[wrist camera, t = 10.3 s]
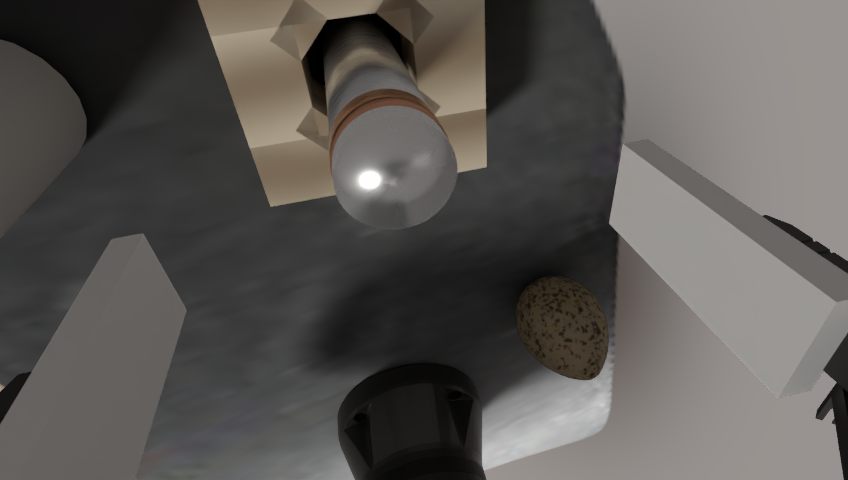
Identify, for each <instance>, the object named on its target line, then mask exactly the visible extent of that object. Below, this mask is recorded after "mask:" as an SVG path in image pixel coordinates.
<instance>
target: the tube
mask: <svg viewBox="0 0 848 480" xmlns="http://www.w3.org/2000/svg"><path fill="white" fill-rule="evenodd" d="M322 50H323V63H324V76H325V88H326V100H327V113H328V125H329V156H330V168H331V174H332V178H333V184H334V190H335V193H336V196H337V198H338V200H339V202H340V204H341V205H342V207H343V208H344V209H345V210H346V211H347V212H348V214H350V215H351V216H352V217H353V218H354V219H356V220H358V221H359V222H361V223H363V224H365V225H367V226H370V227H373V228H378V229H385V230H398V229H405V228H409V227H412V226H415V225H418V224H420V223H422V222H424V221H426V220H428V219H429V218H431V217H432V216H434V215H435V214H436V213H437V212H438V211H439V210H440V209H441V208H442V207H443V206H444V205H445V204H446V202H447V201H448V199H449V198H450V196H451V194H452V192H453V190H454V187H455V184H456V180H457V170H458V167H457V159H456V156H455V152H454V150H453V148H452V146H451V144H450V142H449V139H448V137H447V135H446V133H445V131H444V129H443V127H442V126H441V124H440V122H439V121H438V119H437V117H436V116H435V114H434V113H433V111H432V110H431V108H430V107H429V106H428V105H427V103H426V101H425V100H424V98H423V96H422V94H421V93H420V91H419V89H418V88H417V86H416V84H415V82H414V81H413V79H412V77H411V75H410V74H409V72H408V70H407V69H406V67H405V65H404V63H403V62H402V60H401V58H400V57H399V55H398V53H397V51H396V50H395V48H394V46H393V45H392V43H391V41H390V39H389V38H388V36H387V34H386V33H385V31H384V29H383V28H382V27H381V26H380V25H379V24H378V23H377V22H376V21H375V20H373V19H372V18H370V17H367V16H365V15H358V16H351V17H344V18H339V19H337V20H336V21H335V22H333V23H332V24H331V25H330V27H329V28H328V30H327V32H326V33H325V36H324V40H323V46H322Z"/></svg>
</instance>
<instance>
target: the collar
mask: <svg viewBox="0 0 848 480" xmlns="http://www.w3.org/2000/svg"><path fill="white" fill-rule="evenodd" d="M198 3H199V5H200V8H201V11H202V14H203V17H204V20H205V22H206V25H207V28H208V31H209V34H210V37H211V39H212V42H213V45H214V48H215V51H216V54H217V56H218V59H219V62H220V65H221V68H222V71H223V73H224V76H225V79H226V82H227V85H228V88H229V90H230V93H231V96H232V99H233V102H234V105H235V107H236V110H237V113H238V116H239V119H240V122H241V124H242V127H243V130H244V133H245V136H246V139H247V141H248V144H249V147H250V150H251V153H252V156H253V158H254V161H255V164H256V167H257V170H258V173H259V175H260V178H261V181H262V184H263V187H264V190H265V192H266V195H267V198H268V201H269V204H270V206H271V207H272V206H277V205H283V204H288V203H294V202H299V201H305V200H310V199H316V198H321V197H326V196H332V195H336V193H335V190H334V184H333V178H332V174H331V168H330V156H329V125H328V113H327V100H326V88H325V87H324V86H323V85H322V84H320V83H319V82H317V81H316V80H314V79H313V78H312V76H311V72H310V67H309V63H308V59H307V55H306V52H307V51H308V49H309V48H310V46H311V45H312V43H313V41H314V40H315V38H316V37H317V35H318V34H319V32H320V30H321V29H322V27H323V26H324V24H325V22H326V21H327V20H330V19H337V18H344V17H351V16H358V15H364V14H371V13H377V14H378V15H379V16H380V17H382V18H383V19H384V20H385V21H386V22H388V23H389V24H390V25H391V26H393V27H394V28H395V29H396V30H397V31H399V33H400V41H401V50H402V58H403V63H404V65H405V67H406V69H407V70H408V72H409V74H410V75H411V77H412V79H413V81H414V82H415V84H416V86H417V88H418V89H419V91H420V93H421V94H422V96H423V98H424V100H425V101H426V103H427V105H428V106H429V107H430V108H431V110H432V111H433V113H434V114H435V116H436V117H437V119H438V121H439V122H440V124H441V126H442V127H443V129H444V131H445V133H446V135H447V137H448V139H449V142H450V144H451V146H452V148H453V150H454V152H455V156H456V159H457V167H458V170H457V172H463V171H468V170H474V169H479V168H485V167H487V154H486V72H485V0H198Z"/></svg>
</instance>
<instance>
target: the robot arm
mask: <svg viewBox="0 0 848 480" xmlns="http://www.w3.org/2000/svg"><path fill="white" fill-rule="evenodd" d="M609 224H610V225H611V226H612V227H613V228H614V229H615V230H616V231H617V232H618V233H619V234H620V235H621V236H622V237H623V239H624V240H625V241H626V242H627V243H628V244H629V245H630V246H631V247H632V248H633V249H634V250H635V251H636V252H637V253H638V254H639V255H640V256H641V257H642V258H643V259H644V260H645V261H646V262H647V263H648V265H649V266H651V268H652V269H653V270H654V271H655V272H656V273H657V274H658V275H659V276H660V277H661V278H662V279H663V280H664V281H665V282H666V283H667V284H668V285H669V286H670V287H671V288H672V289H673V290H674V291H675V293H676V294H677V295H678V296H679V297H680V298H681V299H682V300H683V301H684V302H685V303H686V304H687V305H688V306H689V307H690V308H691V309H692V310H693V311H694V312H695V313H696V314H697V315H698V316H699V318H700V319H701V320H702V321H703V322H704V323H705V324H706V325H707V326H708V327H709V328H710V329H711V330H712V331H713V332H714V333H715V334H716V335H717V336H718V337H719V338H720V339H721V340H722V341H723V343H724V344H725V345H726V346H727V347H728V348H729V349H730V350H731V351H732V352H733V353H734V354H735V355H736V356H737V357H738V358H739V359H740V360H741V361H742V362H743V363H744V364H745V365H746V366H747V367H748V368H749V370H750V371H751V372H752V373H753V374H754V375H755V376H756V377H757V378H758V379H759V380H760V381H761V382H762V383H763V384H764V385H765V386H766V387H767V388H768V389H769V390H770V391H771V392H772V393H773V394H774V395H775V397H776V398H777V399H779V398H783V397H787V396H791V395H794V394H798V393H802V392H806V391H810V390H811V389H812V388H813V386H814V385H815V383H816V382H817V380H818V379H819V377H820V376H821V374H822V373H823V371H825V372H826V373H827V374H828V375H829V376H830V377H831V378H833V379H834V380H835V381H836V382H837V383H836V384H835V386H834V387H833V389H832V390H831V391H830V393H829V394H828V396H827V397H826V399H825V400H824V401H823V403H822V404H821V405H820V407H819V408H818V410H817V413H816V418H817V419H820V420H823V419H824V417H825V416H826V415H827V413H828V412H829V410H830V409H832V408H833V411H834V417H835V419H834V420H833V421H832V423H833V424H836V431H837V437H838V444H839V450H840V457H841V463H842V470H843V477H844V480H848V261H846V260H845V259H843V258H842V257H840V256H839V255H837V254H836V253H831V252H830V249H828V248H826V247H825V246H823V245H822V244H820V243H819V242H817V241H816V242H814V241H813V239H812V238H811V237H810V236H808V235H806V234H805V233H803V232H802V231H800V230H799V229H797V228H796V227H794V226H793V225H790V224H788V223H785V222H783V221H780V220H778V219H775V218H773V217H770V216H767V215H764V216H761V215H760V214H758V213H756V212H755V211H753V210H752V209H751V208H749V207H747V206H746V205H745V204H743V203H742V202H740V201H739V200H737V199H736V198H734V197H733V196H731V195H730V194H728V193H727V192H725V191H724V190H722V189H721V188H719V187H718V186H716V185H715V184H713V183H712V182H710V181H709V180H708V179H706V178H705V177H703V176H702V175H700V174H698V173H697V172H696V171H694V170H693V169H691V168H690V167H688V166H687V165H685V164H684V163H682V162H681V161H679V160H678V159H676V158H675V157H673V156H672V155H670V154H669V153H667V152H666V151H664V150H663V149H661V148H660V147H658V146H657V145H656V144H654V143H653V142H651V141H649V140H648V139H647V140H642V141H637V142H631V143H626V144H623V147H622V152H621V158H620V164H619V169H618V175H617V181H616V186H615V192H614V198H613V204H612V209H611V215H610V221H609ZM186 311H187V310H186V308H185V306H184V304H183V303H182V301H181V299H180V297H179V296H178V294H177V292H176V290H175V289H174V287H173V285H172V283H171V282H170V280H169V278H168V276H167V275H166V273H165V271H164V269H163V268H162V266H161V264H160V262H159V261H158V259H157V257H156V255H155V254H154V252H153V250H152V248H151V247H150V245H149V243H148V241H147V239H146V238H145V236H144V234H143V233H142V234H137V235H132V236H126V237H121V238H116V239H111V241H110V243H109V244H108V246H107V248H106V249H105V251H104V253H103V254H102V256H101V258H100V259H99V261H98V263H97V264H96V266H95V268H94V269H93V271H92V273H91V274H90V276H89V278H88V279H87V281H86V283H85V284H84V286H83V288H82V289H81V291H80V293H79V294H78V296H77V298H76V299H75V301H74V303H73V304H72V306H71V308H70V309H69V311H68V312H67V314H66V316H65V317H64V319H63V321H62V322H61V324H60V326H59V327H58V329H57V331H56V332H55V334H54V336H53V337H52V339H51V341H50V342H49V344H48V346H47V347H46V349H45V351H44V352H43V354H42V356H41V357H40V359H39V361H38V362H37V364H36V366H35V367H34V369H33V371H32V372H28V373H23V374H18V375H17V376H16V377H15V378H14V379H13V380H12V381H11V382H10V383H9V384H8V385H7V386H6V387H5V388H4V389H3V390H2V391H1V392H0V480H135V478H136V474H137V471H138V468H139V464H140V461H141V458H142V455H143V451H144V448H145V445H146V442H147V438H148V435H149V432H150V428H151V425H152V422H153V419H154V415H155V412H156V409H157V406H158V402H159V399H160V396H161V392H162V389H163V386H164V383H165V379H166V376H167V373H168V370H169V366H170V363H171V360H172V357H173V353H174V350H175V347H176V343H177V340H178V337H179V334H180V330H181V327H182V324H183V321H184V317H185V314H186ZM338 436H339V442H340V446H341V448H342V451H343V453H344V455H345V458H346V460H347V462H348V465H349V467H350V469H351V472H352V474H353V476H354V479H355V480H486V477H485V474H484V470H483V467H482V408H481V403H480V400H479V397H478V394H477V391H476V388H475V386H474V384H473V382H472V381H471V380H470V379H469V378H468V377H467V376H466V375H465V374H463V373H462V372H460V371H458V370H455V369H453V368H450V367H446V366H441V365H433V364H417V365H409V366H403V367H399V368H395V369H391V370H388V371H385V372H383V373H380V374H378V375H376V376H373V377H372V378H370V379H368V380H366V381H365V382H363V383H362V384H360V385H359V386H357V387H356V388H355V389H354V390H353V391H352V392H351V393H350V394H349V395H348V396H347V397H346V398H345V400H344V401H343V403H342V404H341V407H340V409H339V412H338Z"/></svg>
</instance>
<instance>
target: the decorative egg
mask: <svg viewBox="0 0 848 480" xmlns="http://www.w3.org/2000/svg"><path fill="white" fill-rule="evenodd" d="M515 318H516V326H517V330H518V333H519V336H520V338H521V340H522V342H523V344H524V345H525V347H526V348H527V349H528V351H529V352H530V353H531V354H532V355H533V356H534V357H535V358H536V359H537V360H538V361H539V362H540V363H541V364H543V365H544V366H545V367H547V368H549V369H550V370H552V371H554V372H556V373H558V374H560V375H563V376H566V377H568V378H572V379H578V380H591V379H593V378H595V377H596V376H597V375H599V373H600V372H601V370H602V368H603V365H604V363H605V360H606V357H607V352H608V342H609V337H608V327H607V322H606V318H605V315H604V312H603V310H602V308H601V306H600V304H599V303H598V301H597V300H596V298H595V297H594V296H593V294H592V293H591V292H590V291H589V290H588V289H586V288H585V287H584V286H583V285H581V284H580V283H578V282H576V281H574V280H572V279H570V278H566V277H563V276H546V277H542V278H539V279H537V280H535V281H533V282H532V283H530V284H529V285H528V286H527V287H526V288H525V289H524V291H523V292H522V294H521V295H520V297H519V300H518V302H517V306H516V312H515Z"/></svg>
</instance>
